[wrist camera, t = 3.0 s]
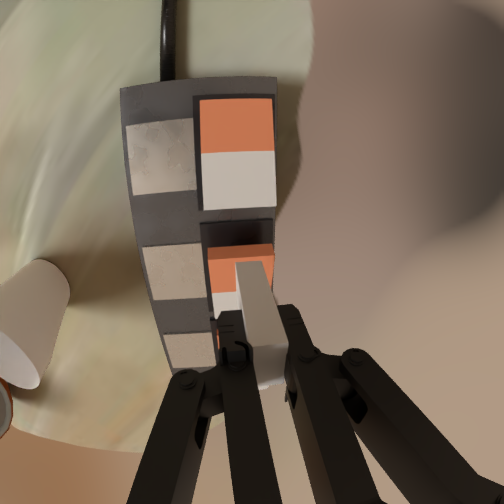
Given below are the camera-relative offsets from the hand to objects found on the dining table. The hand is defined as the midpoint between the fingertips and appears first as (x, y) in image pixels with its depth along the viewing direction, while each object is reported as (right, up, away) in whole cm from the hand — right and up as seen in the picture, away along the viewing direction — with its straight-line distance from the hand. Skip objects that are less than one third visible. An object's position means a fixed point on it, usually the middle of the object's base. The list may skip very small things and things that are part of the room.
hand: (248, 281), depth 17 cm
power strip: (-4, +7, +7) cm, 11 cm away
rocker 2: (-1, 0, +6) cm, 6 cm away
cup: (-23, -2, +9) cm, 25 cm away
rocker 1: (-1, +8, +1) cm, 8 cm away
